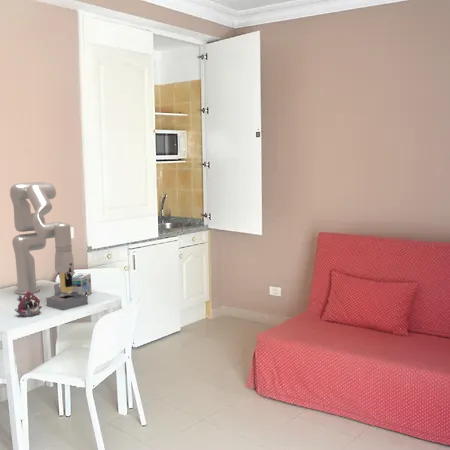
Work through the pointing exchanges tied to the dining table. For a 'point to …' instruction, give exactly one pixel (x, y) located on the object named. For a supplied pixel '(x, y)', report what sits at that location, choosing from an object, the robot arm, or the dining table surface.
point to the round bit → (58, 290)
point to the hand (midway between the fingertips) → (66, 285)
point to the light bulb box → (81, 284)
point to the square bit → (64, 283)
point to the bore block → (67, 301)
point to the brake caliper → (28, 305)
